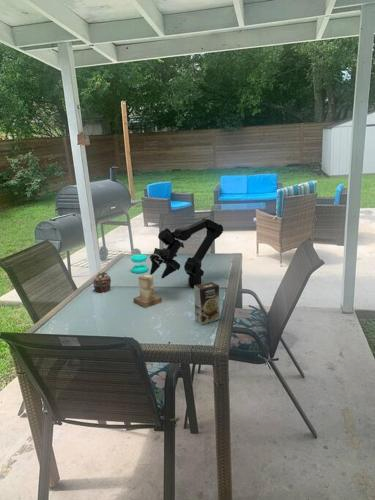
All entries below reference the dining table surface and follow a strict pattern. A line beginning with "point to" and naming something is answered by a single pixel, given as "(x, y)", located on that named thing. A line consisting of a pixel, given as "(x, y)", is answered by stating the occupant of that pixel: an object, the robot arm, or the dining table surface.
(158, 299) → the walnut slab
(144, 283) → the maple block
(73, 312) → the dining table surface
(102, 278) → the cupcake
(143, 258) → the cyan spool
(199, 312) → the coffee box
